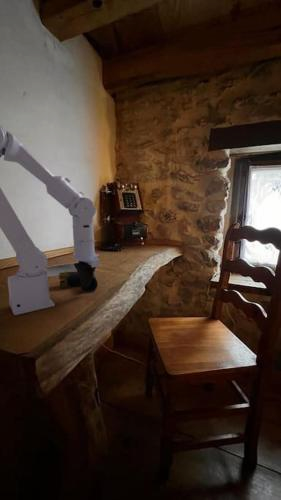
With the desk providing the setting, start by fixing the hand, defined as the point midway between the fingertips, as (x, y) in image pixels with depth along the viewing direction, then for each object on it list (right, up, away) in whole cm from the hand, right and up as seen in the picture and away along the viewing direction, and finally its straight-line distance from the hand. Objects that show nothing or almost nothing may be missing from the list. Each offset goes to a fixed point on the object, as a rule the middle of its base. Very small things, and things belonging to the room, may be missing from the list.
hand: (86, 286), depth 68 cm
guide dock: (-13, +1, +23) cm, 26 cm away
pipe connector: (-5, -2, +10) cm, 11 cm away
